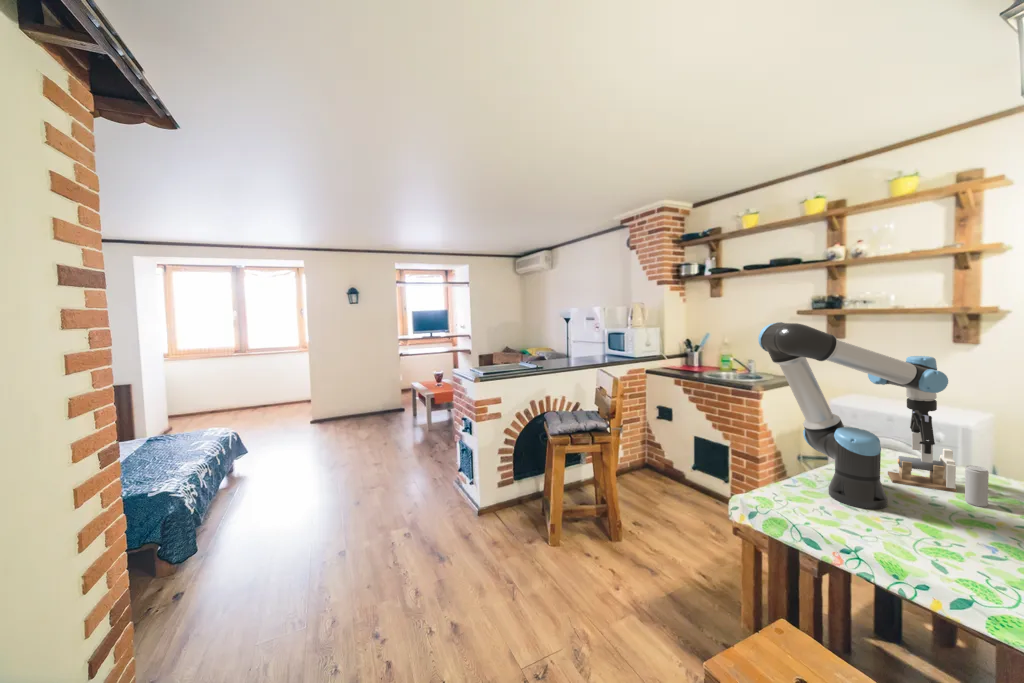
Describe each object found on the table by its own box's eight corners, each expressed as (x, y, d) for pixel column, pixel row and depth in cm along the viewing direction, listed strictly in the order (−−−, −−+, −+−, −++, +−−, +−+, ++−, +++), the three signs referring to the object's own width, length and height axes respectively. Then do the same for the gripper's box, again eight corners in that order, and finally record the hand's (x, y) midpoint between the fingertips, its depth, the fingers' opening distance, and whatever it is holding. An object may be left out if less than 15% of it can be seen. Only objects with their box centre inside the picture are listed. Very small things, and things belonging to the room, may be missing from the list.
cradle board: (892, 482, 143) (892, 461, 142) (887, 473, 150) (887, 453, 149) (956, 492, 133) (957, 469, 133) (948, 482, 140) (948, 461, 140)
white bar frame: (946, 487, 135) (947, 453, 134) (939, 478, 142) (939, 445, 141) (955, 488, 133) (956, 454, 133) (947, 479, 140) (947, 446, 140)
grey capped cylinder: (899, 468, 143) (899, 457, 143) (896, 464, 146) (896, 454, 146) (945, 474, 136) (945, 463, 136) (942, 470, 139) (942, 459, 139)
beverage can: (992, 507, 122) (993, 471, 122) (974, 507, 123) (975, 470, 123) (977, 500, 127) (978, 465, 126) (960, 500, 128) (960, 465, 127)
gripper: (947, 407, 127) (947, 469, 129) (926, 392, 147) (927, 446, 149) (915, 405, 132) (915, 465, 133) (899, 391, 152) (900, 443, 153)
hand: (921, 455), depth 141 cm, fingers open, 13 cm apart
